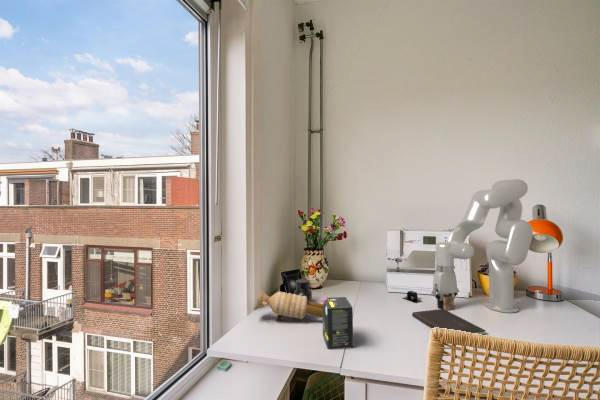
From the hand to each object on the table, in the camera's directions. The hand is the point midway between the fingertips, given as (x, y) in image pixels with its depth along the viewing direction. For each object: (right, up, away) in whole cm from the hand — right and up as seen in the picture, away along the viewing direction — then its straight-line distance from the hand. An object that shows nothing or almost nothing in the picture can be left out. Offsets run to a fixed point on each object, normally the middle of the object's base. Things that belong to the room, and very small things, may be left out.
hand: (445, 307), depth 139 cm
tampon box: (-55, -2, -31) cm, 63 cm away
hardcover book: (-9, -2, -18) cm, 20 cm away
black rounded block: (-11, -2, +13) cm, 17 cm away
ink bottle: (-67, -2, +7) cm, 67 cm away
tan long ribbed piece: (-72, -2, -11) cm, 73 cm away
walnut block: (0, -1, 0) cm, 1 cm away
